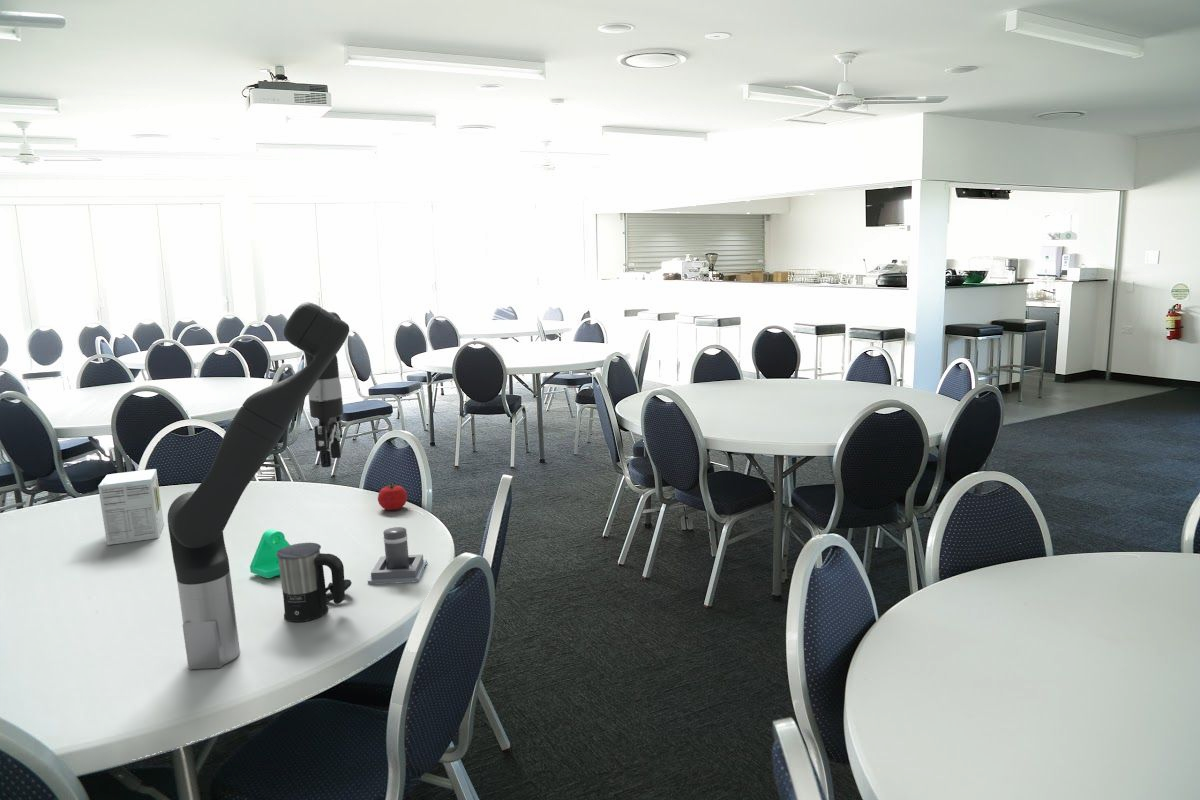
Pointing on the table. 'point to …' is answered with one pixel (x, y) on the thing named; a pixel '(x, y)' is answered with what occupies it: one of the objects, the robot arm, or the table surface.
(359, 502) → the table surface
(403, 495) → the tomato
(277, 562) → the camera mount
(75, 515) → the table surface
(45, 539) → the table surface
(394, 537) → the grey canister
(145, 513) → the supplement box
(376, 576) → the collar plate
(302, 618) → the milk frother
